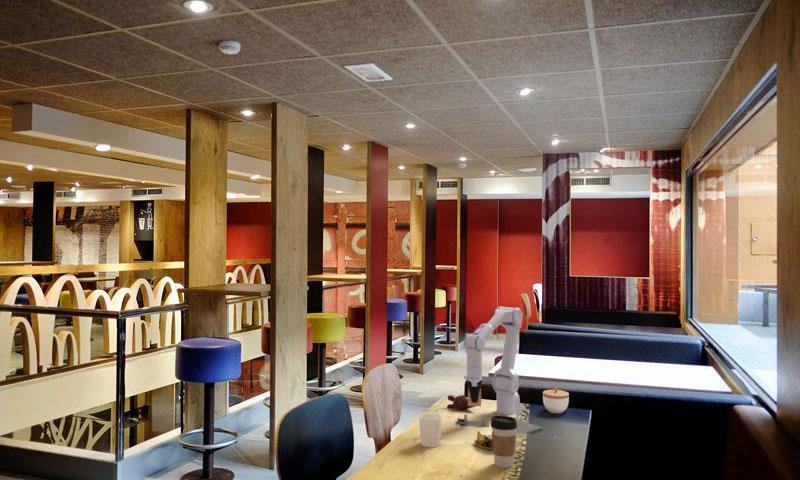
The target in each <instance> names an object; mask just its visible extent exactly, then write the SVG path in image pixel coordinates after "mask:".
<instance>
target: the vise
mask: <svg viewBox="0 0 800 480" xmlns="http://www.w3.org/2000/svg"><path fill="white" fill-rule="evenodd" d="M456 420H457V421H456V422H457V423H458V424H459V423H460V424H459V426H460V427H480V428H482V427H483V428H484V427H485V428H489V427H490V421H489V420H487V421H486V415H485V414H481V420H468V414H464V415H463V418H460V417H457V419H456Z"/></svg>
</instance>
